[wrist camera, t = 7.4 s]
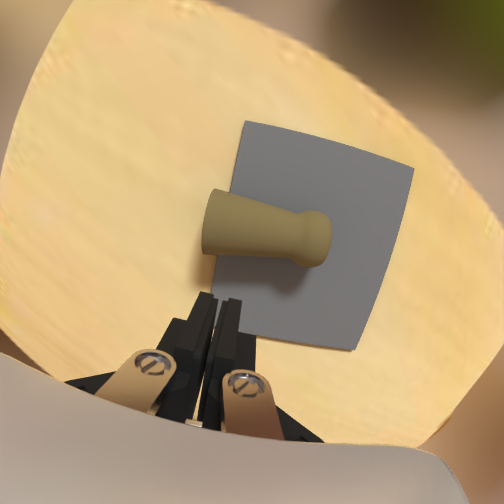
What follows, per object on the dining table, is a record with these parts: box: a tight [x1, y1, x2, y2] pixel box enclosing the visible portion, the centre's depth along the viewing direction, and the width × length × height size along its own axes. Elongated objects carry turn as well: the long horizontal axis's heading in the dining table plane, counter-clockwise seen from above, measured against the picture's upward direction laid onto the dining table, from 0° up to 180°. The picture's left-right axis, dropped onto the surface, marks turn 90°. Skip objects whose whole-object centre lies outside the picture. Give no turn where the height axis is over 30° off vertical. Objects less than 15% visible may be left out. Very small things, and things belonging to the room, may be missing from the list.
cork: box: [202, 189, 332, 267], centre depth 27 cm, size 6×6×11 cm
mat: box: [211, 120, 414, 350], centre depth 30 cm, size 22×18×1 cm
